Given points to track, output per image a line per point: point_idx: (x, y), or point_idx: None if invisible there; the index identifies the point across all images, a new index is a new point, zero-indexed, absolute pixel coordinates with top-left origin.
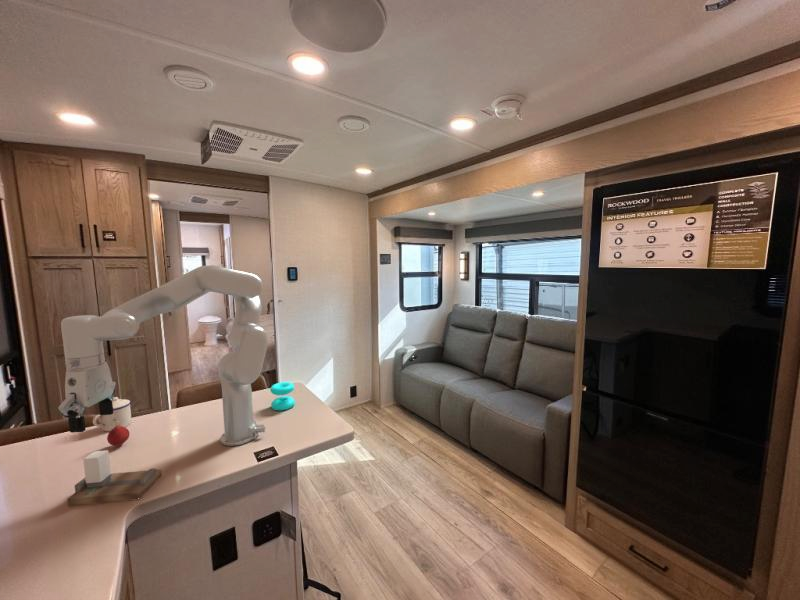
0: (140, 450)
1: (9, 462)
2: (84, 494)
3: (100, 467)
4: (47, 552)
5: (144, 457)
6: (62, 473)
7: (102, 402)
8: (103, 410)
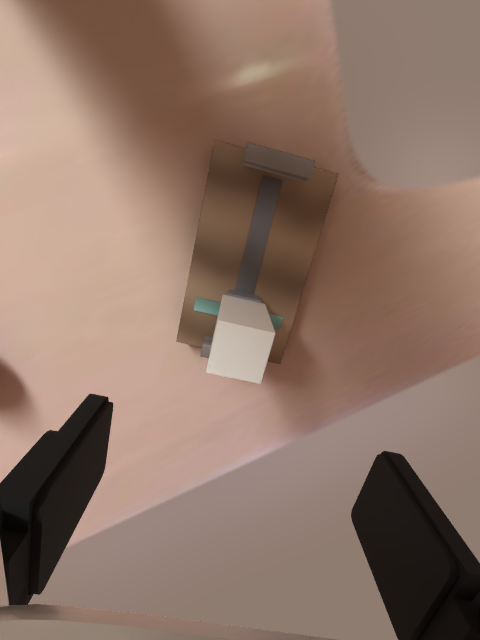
0: (13, 280)
1: None
2: (276, 331)
3: (265, 316)
4: (446, 316)
5: (68, 249)
6: None
7: (39, 568)
8: (90, 479)
